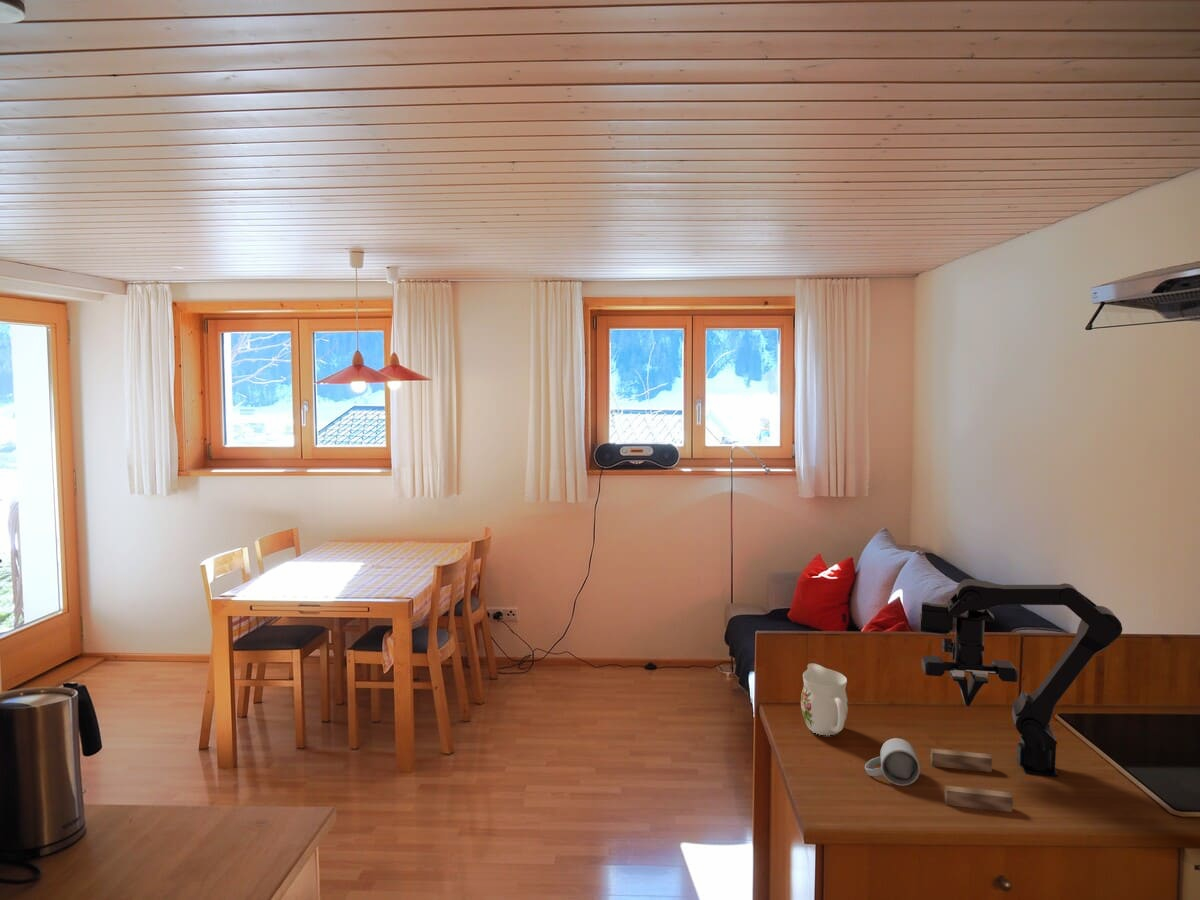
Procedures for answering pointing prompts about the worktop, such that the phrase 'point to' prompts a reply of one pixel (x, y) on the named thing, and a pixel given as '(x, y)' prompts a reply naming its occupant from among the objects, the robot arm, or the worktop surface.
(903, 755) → the ceramic mug
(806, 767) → the worktop surface
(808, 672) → the pitcher
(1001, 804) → the mug dock
